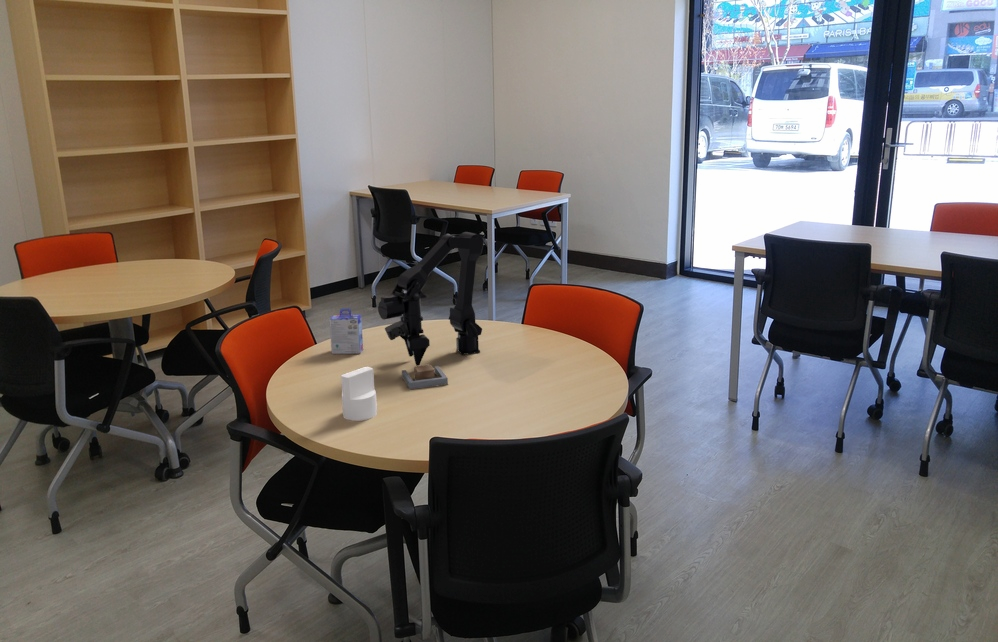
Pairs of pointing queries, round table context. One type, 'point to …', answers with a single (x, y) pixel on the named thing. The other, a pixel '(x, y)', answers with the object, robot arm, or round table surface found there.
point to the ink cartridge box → (346, 333)
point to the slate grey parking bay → (426, 380)
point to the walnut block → (423, 372)
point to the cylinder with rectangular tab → (359, 394)
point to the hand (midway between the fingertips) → (414, 360)
